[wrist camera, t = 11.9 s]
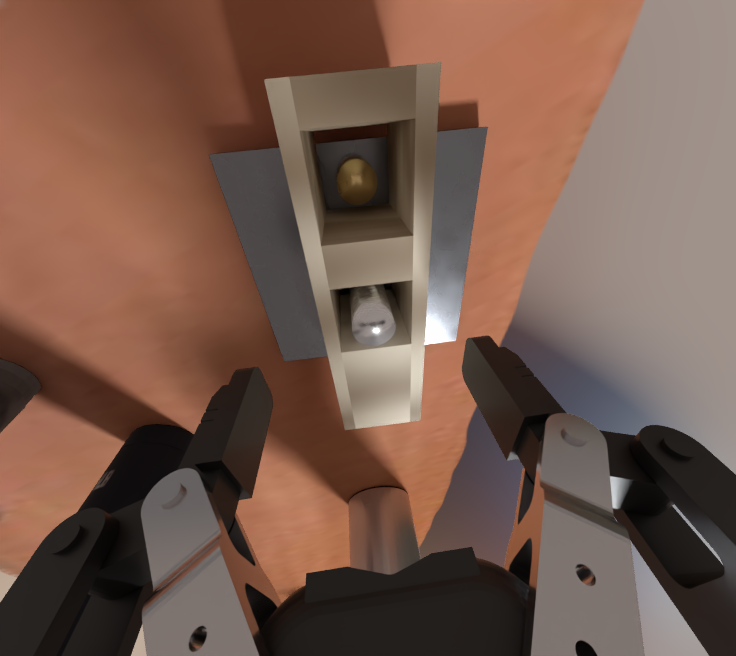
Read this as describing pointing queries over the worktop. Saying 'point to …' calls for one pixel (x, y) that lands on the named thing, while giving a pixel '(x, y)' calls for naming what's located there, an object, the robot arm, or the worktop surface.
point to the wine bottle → (135, 475)
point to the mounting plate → (346, 190)
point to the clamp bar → (366, 226)
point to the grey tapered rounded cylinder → (15, 390)
